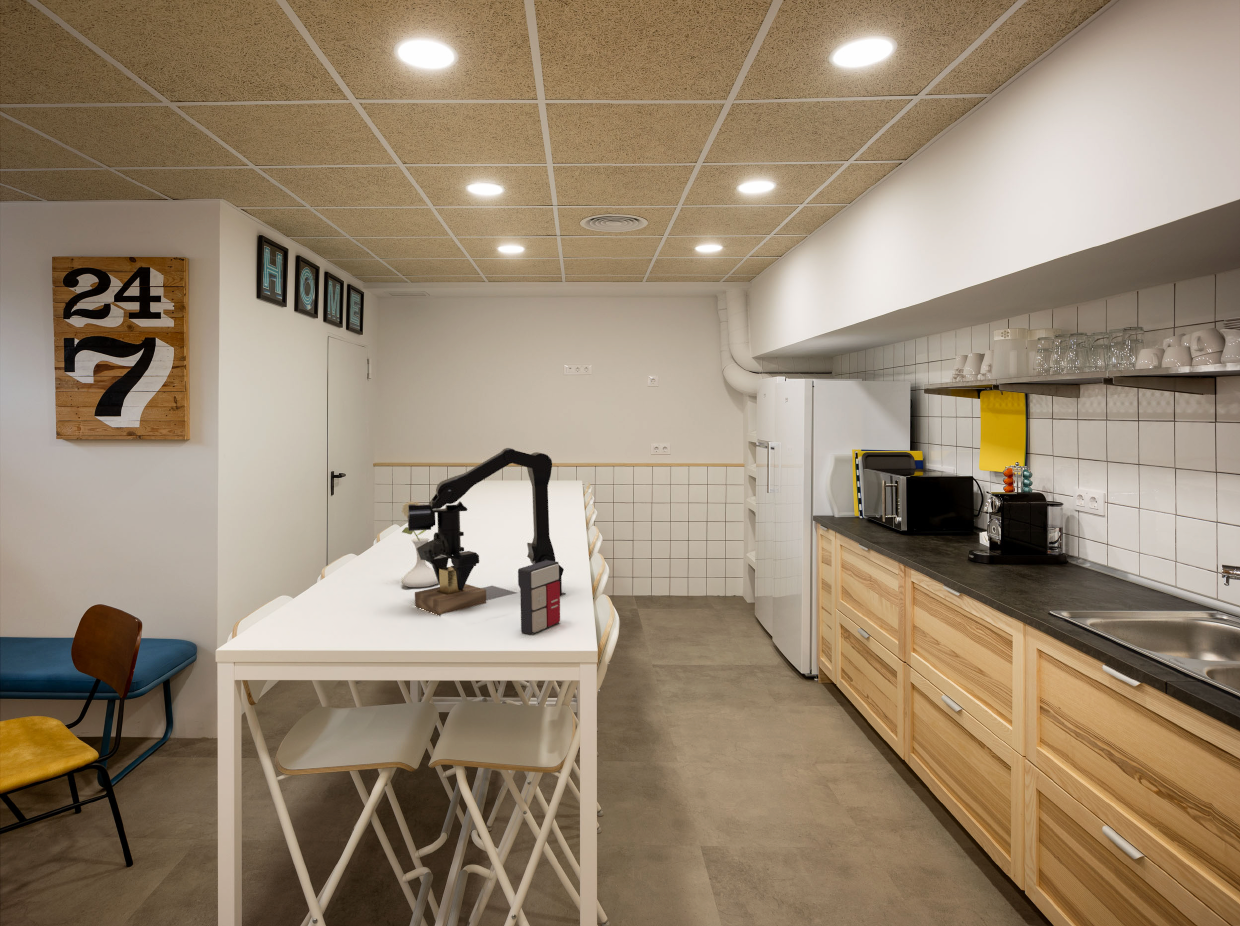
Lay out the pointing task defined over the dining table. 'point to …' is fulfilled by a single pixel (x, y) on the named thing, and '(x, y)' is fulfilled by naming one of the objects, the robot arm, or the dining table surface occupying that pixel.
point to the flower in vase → (418, 561)
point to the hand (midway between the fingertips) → (450, 587)
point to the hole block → (449, 599)
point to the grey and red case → (539, 596)
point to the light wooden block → (448, 581)
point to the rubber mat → (496, 592)
